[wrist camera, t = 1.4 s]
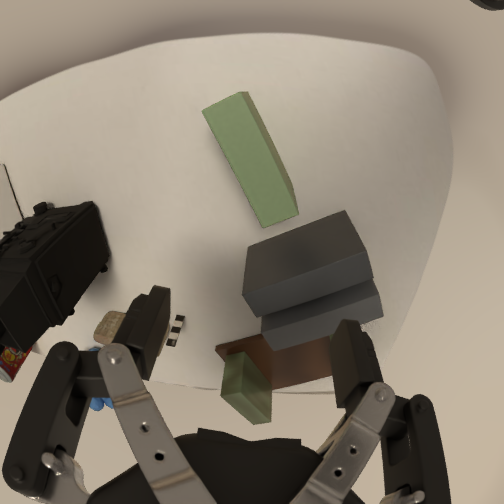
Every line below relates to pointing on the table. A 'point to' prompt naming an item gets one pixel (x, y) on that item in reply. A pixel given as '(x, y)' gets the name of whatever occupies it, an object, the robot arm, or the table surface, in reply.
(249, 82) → the table surface
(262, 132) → the green book
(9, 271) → the camera
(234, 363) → the book rack
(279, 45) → the table surface
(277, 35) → the table surface
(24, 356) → the soda can
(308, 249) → the grey grooved block
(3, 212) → the grey rectangular panel
